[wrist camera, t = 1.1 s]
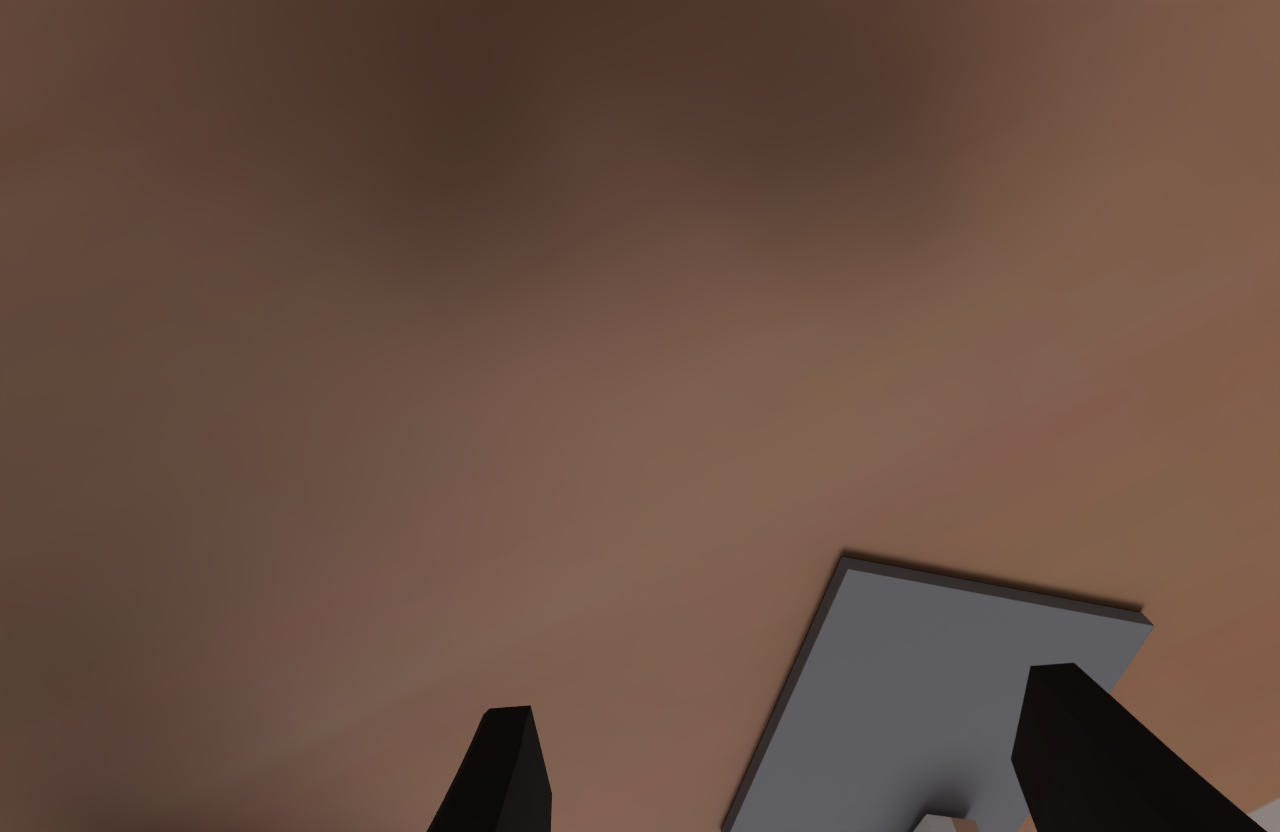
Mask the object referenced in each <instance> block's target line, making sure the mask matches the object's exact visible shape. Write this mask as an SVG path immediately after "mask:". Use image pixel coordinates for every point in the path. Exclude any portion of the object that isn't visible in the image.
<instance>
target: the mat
mask: <svg viewBox="0 0 1280 832" xmlns="http://www.w3.org/2000/svg"><path fill="white" fill-rule="evenodd" d="M1153 628H1154V625H1153V624H1152V623H1151V622H1150V621H1149V620H1148V619H1147V618H1146V617H1145V616H1144V615H1143V614H1142V613H1139V612H1134V611H1129V610H1123V609H1118V608H1113V607H1107V606H1102V605H1097V604H1091V603H1086V602H1081V601H1075V600H1070V599H1065V598H1060V597H1054V596H1049V595H1044V594H1038V593H1033V592H1028V591H1022V590H1017V589H1012V588H1006V587H1001V586H996V585H991V584H985V583H980V582H975V581H969V580H964V579H959V578H953V577H948V576H943V575H938V574H932V573H927V572H922V571H916V570H911V569H906V568H900V567H895V566H890V565H884V564H879V563H874V562H869V561H863V560H858V559H853V558H847V557H841V559H840V562H839V564H838V566H837V569H836V571H835V573H834V575H833V578H832V580H831V582H830V584H829V587H828V589H827V591H826V594H825V596H824V598H823V600H822V603H821V605H820V607H819V609H818V612H817V614H816V616H815V619H814V621H813V623H812V625H811V628H810V630H809V632H808V634H807V637H806V639H805V641H804V644H803V646H802V648H801V650H800V653H799V655H798V657H797V659H796V662H795V664H794V666H793V669H792V671H791V673H790V675H789V678H788V680H787V682H786V684H785V687H784V689H783V691H782V694H781V696H780V698H779V700H778V703H777V705H776V707H775V709H774V712H773V714H772V716H771V719H770V721H769V723H768V725H767V728H766V730H765V732H764V734H763V737H762V739H761V741H760V744H759V746H758V748H757V750H756V753H755V755H754V757H753V759H752V762H751V764H750V766H749V769H748V771H747V773H746V775H745V778H744V780H743V782H742V784H741V787H740V789H739V791H738V794H737V796H736V798H735V800H734V803H733V805H732V807H731V809H730V812H729V814H728V816H727V819H726V821H725V823H724V825H723V828H722V830H721V832H913V831H914V830H915V829H916V827H917V826H918V825H919V823H920V822H921V821H922V819H923V818H924V817H925V816H926V814H930V815H937V816H945V817H952V818H959V819H967V820H974V821H975V822H976V824H977V827H978V829H979V832H1017V830H1018V829H1019V827H1020V826H1021V824H1022V823H1023V821H1024V820H1025V818H1026V817H1027V815H1028V814H1029V812H1030V811H1029V809H1028V806H1027V803H1026V801H1025V798H1024V795H1023V792H1022V790H1021V787H1020V784H1019V781H1018V779H1017V776H1016V773H1015V770H1014V767H1013V765H1012V762H1011V756H1012V751H1013V746H1014V741H1015V737H1016V732H1017V727H1018V723H1019V718H1020V713H1021V708H1022V704H1023V699H1024V694H1025V690H1026V685H1027V680H1028V675H1029V671H1030V666H1036V665H1049V664H1062V663H1075V664H1076V665H1077V666H1079V667H1080V668H1081V669H1082V670H1083V671H1084V672H1085V673H1086V674H1088V675H1089V676H1090V677H1091V678H1092V679H1093V680H1094V681H1095V682H1096V683H1098V684H1099V685H1100V686H1101V687H1102V688H1103V689H1104V690H1105V691H1106V692H1107V693H1110V692H1111V690H1112V689H1113V687H1114V686H1115V684H1116V683H1117V681H1118V680H1119V678H1120V677H1121V675H1122V674H1123V672H1124V671H1125V669H1126V668H1127V666H1128V665H1129V663H1130V662H1131V661H1132V659H1133V658H1134V656H1135V655H1136V653H1137V652H1138V650H1139V649H1140V647H1141V646H1142V644H1143V643H1144V641H1145V640H1146V638H1147V637H1148V635H1149V634H1150V632H1151V631H1152V629H1153Z"/></svg>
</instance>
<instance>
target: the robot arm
mask: <svg viewBox="0 0 1280 832" xmlns="http://www.w3.org/2000/svg"><path fill="white" fill-rule="evenodd" d="M1011 762H1012V765H1013V767H1014V770H1015V773H1016V776H1017V779H1018V781H1019V784H1020V787H1021V790H1022V792H1023V795H1024V798H1025V801H1026V803H1027V806H1028V809H1029V811H1030V814H1031V816H1032V819H1033V821H1034V824H1035V827H1036V829H1037V832H1267V831H1265V830H1264V829H1263V828H1262V827H1260V826H1259V825H1258V824H1257V823H1256V822H1255V821H1253V820H1252V819H1251V818H1250V817H1249V816H1247V815H1246V814H1245V813H1244V812H1242V811H1241V810H1240V809H1239V808H1238V807H1237V806H1235V805H1234V804H1233V803H1232V802H1231V801H1230V800H1228V799H1227V798H1226V797H1225V796H1224V795H1223V794H1221V793H1220V792H1219V791H1218V790H1217V789H1215V788H1214V787H1213V786H1212V785H1211V784H1210V783H1208V782H1207V781H1206V780H1205V779H1204V778H1203V777H1201V776H1200V775H1199V774H1198V773H1197V772H1196V771H1194V770H1193V769H1192V768H1191V767H1190V766H1189V765H1188V764H1186V763H1185V762H1184V761H1183V760H1182V759H1181V758H1180V757H1178V756H1177V755H1176V754H1175V753H1174V752H1173V751H1172V750H1171V749H1169V748H1168V747H1167V746H1166V745H1165V744H1164V743H1163V742H1162V741H1160V740H1159V739H1158V738H1157V737H1156V736H1155V735H1154V734H1153V733H1152V732H1150V731H1149V730H1148V729H1147V728H1146V727H1145V726H1144V725H1143V724H1142V723H1140V722H1139V721H1138V720H1137V719H1136V718H1135V717H1134V716H1133V715H1132V714H1130V713H1129V712H1128V711H1127V710H1126V709H1125V708H1124V707H1123V706H1122V705H1121V704H1119V703H1118V702H1117V701H1116V700H1115V699H1114V698H1113V697H1112V696H1111V695H1110V694H1109V693H1107V692H1106V691H1105V690H1104V689H1103V688H1102V687H1101V686H1100V685H1099V684H1098V683H1096V682H1095V681H1094V680H1093V679H1092V678H1091V677H1090V676H1089V675H1088V674H1086V673H1085V672H1084V671H1083V670H1082V669H1081V668H1080V667H1079V666H1077V665H1076V664H1075V663H1062V664H1049V665H1036V666H1030V671H1029V675H1028V680H1027V685H1026V690H1025V694H1024V699H1023V704H1022V708H1021V713H1020V718H1019V723H1018V727H1017V732H1016V737H1015V741H1014V746H1013V751H1012V756H1011ZM551 808H552V792H551V788H550V784H549V780H548V775H547V771H546V767H545V763H544V759H543V755H542V751H541V747H540V742H539V738H538V734H537V730H536V726H535V722H534V718H533V713H532V709H531V705H529V706H517V707H504V708H491V709H489V710H488V711H487V712H486V713H484V714H483V717H482V719H481V721H480V724H479V726H478V728H477V731H476V733H475V735H474V737H473V740H472V742H471V744H470V746H469V748H468V751H467V753H466V755H465V757H464V759H463V761H462V764H461V766H460V768H459V770H458V772H457V774H456V776H455V778H454V780H453V782H452V784H451V786H450V788H449V790H448V792H447V794H446V796H445V798H444V800H443V802H442V804H441V806H440V808H439V810H438V811H437V813H436V815H435V817H434V819H433V821H432V823H431V825H430V826H429V828H428V830H427V832H551Z"/></svg>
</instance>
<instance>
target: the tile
mask: <svg viewBox="0 0 1280 832" xmlns="http://www.w3.org/2000/svg"><path fill="white" fill-rule="evenodd" d="M913 832H979V829H978V827H977V824H976V822H975V821H974V820H967V819H959V818H952V817H945V816H937V815H930V814H926V816H925V817H924V818H923V819H922V821H921V822H920V823H919V825H918V826H917V827H916V829H915V830H914V831H913Z"/></svg>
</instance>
